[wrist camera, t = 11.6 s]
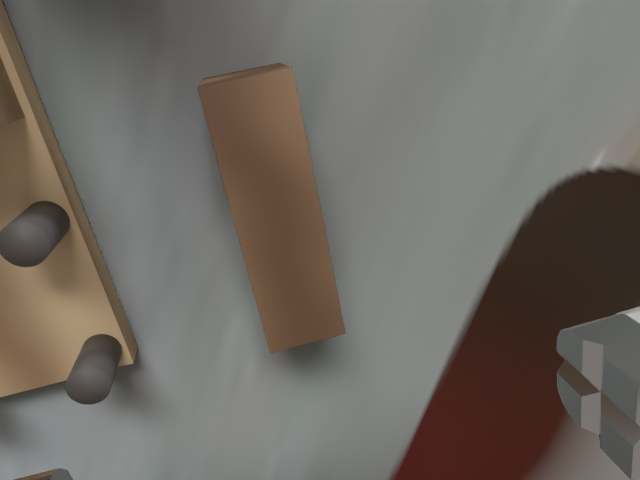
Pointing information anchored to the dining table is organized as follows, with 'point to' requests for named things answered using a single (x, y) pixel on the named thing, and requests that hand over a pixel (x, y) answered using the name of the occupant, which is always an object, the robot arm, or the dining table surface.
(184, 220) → the dining table surface
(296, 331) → the bar
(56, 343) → the board
